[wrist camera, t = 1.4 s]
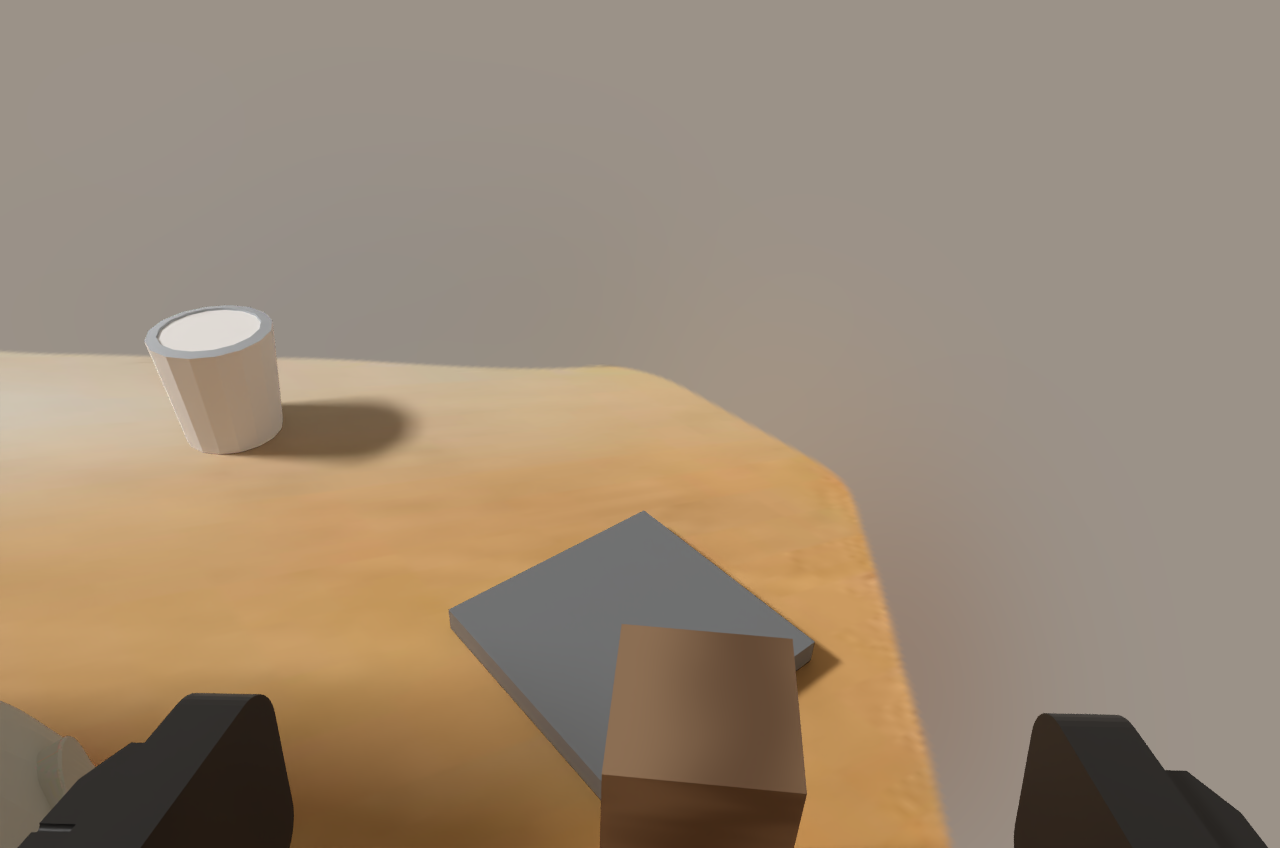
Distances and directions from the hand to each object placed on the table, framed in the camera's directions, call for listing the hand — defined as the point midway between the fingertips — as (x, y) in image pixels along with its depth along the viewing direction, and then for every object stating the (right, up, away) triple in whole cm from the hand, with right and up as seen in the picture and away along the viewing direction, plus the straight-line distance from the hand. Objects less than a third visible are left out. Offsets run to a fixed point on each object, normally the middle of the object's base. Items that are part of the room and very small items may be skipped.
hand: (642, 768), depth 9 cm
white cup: (-25, +3, +45) cm, 52 cm away
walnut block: (+1, -14, +20) cm, 25 cm away
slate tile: (-1, -7, +31) cm, 32 cm away
